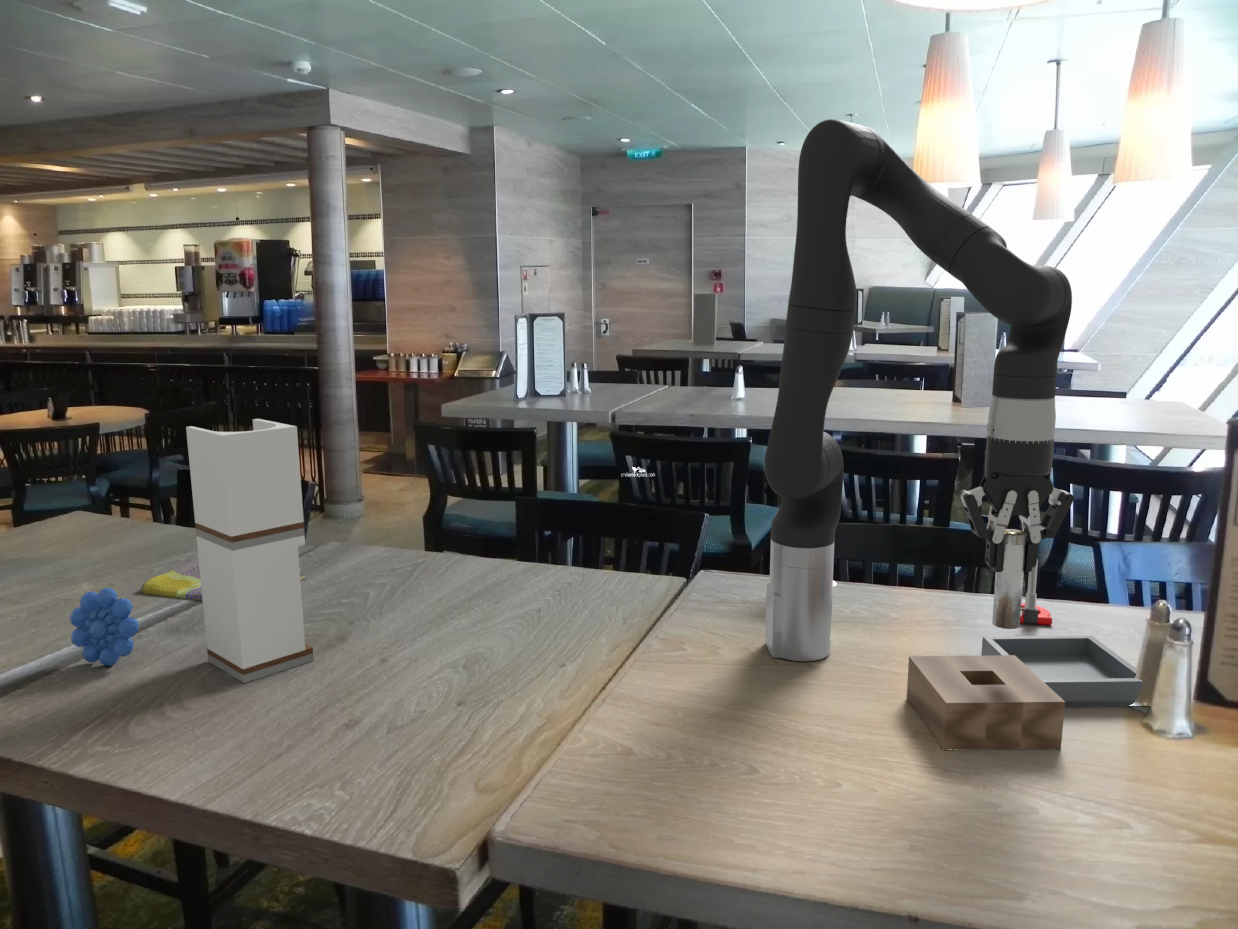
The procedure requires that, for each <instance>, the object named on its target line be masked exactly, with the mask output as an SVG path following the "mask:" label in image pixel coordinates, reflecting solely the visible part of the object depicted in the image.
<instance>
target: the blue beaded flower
mask: <svg viewBox="0 0 1238 929" xmlns="http://www.w3.org/2000/svg"><path fill="white" fill-rule="evenodd" d="M132 610H133V603H132V601H131V600H129V599H128V598H127V597H120V598H118V593H117V591H116V590H114V589H113V588H112V587H104V588H102V589H100V590H99V591H98V593H97V592H96V591H92V590H91V591H90V590H89V591H87V592H85V593H84V594H82V596H81V598H80V600H79V606H78V607H76V608H74V609H73V610H72V611H71V612H70V616H69V622H70V624H71V625H72V626H74V627H75V629H74V630H73V631H72V633H71V636H70V640H71V641H70V642H71V643H72V644H73V646H75V647H77V648H82V654H81V655H82V658H83V660H85V661H86V662H87V663H95V662H98V661H99V663H100V664H101V665H103V666H105V667H112V666H114V665H116V663H117V662H118V661H119V659H120V657H122V658H124V657H126V656H129V655H130V654H131V653H132V651H133V650H134V643H135V642H134V640H133V639H132V637H135V635H136V634H137V633H138V631H139V628H140V624H139V620H137V619H136V618H134V617H132V616H130V615H131V613H132Z"/></svg>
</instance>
